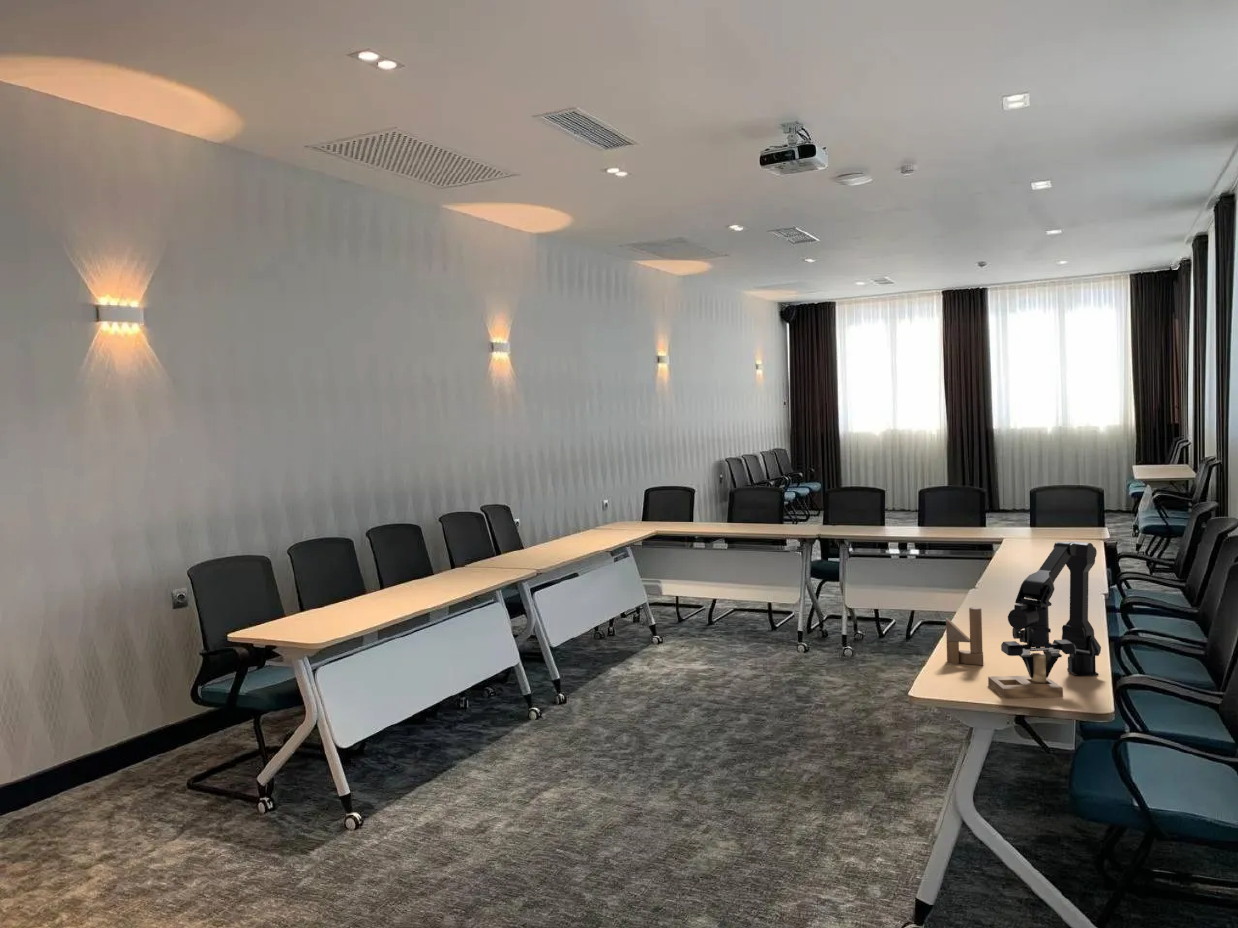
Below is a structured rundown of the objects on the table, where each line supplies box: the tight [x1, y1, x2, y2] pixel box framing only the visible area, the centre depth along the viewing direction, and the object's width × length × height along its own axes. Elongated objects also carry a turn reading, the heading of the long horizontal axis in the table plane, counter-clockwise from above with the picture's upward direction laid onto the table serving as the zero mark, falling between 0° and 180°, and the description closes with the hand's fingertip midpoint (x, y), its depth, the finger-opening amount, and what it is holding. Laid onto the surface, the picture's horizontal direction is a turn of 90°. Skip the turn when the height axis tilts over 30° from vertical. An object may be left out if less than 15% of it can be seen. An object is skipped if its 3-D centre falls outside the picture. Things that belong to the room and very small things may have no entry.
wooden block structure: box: [945, 606, 984, 666], centre depth 277 cm, size 4×11×18 cm, turn 68°
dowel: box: [1030, 652, 1046, 684], centre depth 248 cm, size 4×4×10 cm
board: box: [987, 674, 1064, 699], centre depth 248 cm, size 16×12×2 cm
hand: (1038, 677), depth 248 cm, fingers closed on dowel, 4 cm apart
